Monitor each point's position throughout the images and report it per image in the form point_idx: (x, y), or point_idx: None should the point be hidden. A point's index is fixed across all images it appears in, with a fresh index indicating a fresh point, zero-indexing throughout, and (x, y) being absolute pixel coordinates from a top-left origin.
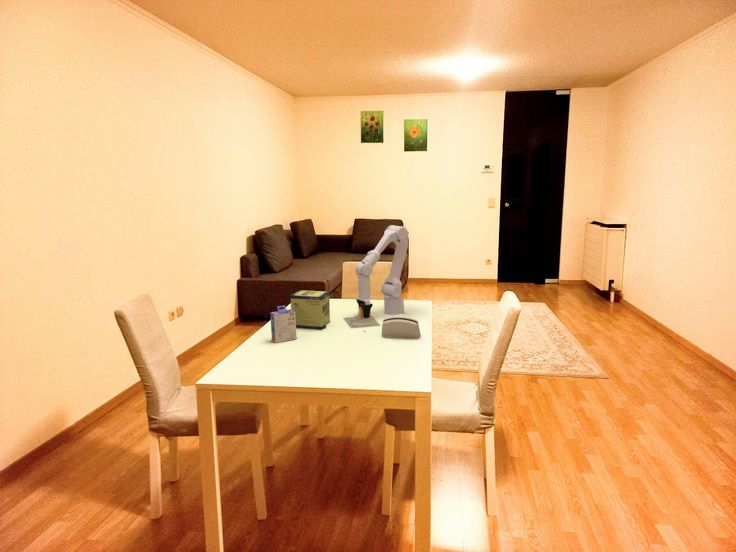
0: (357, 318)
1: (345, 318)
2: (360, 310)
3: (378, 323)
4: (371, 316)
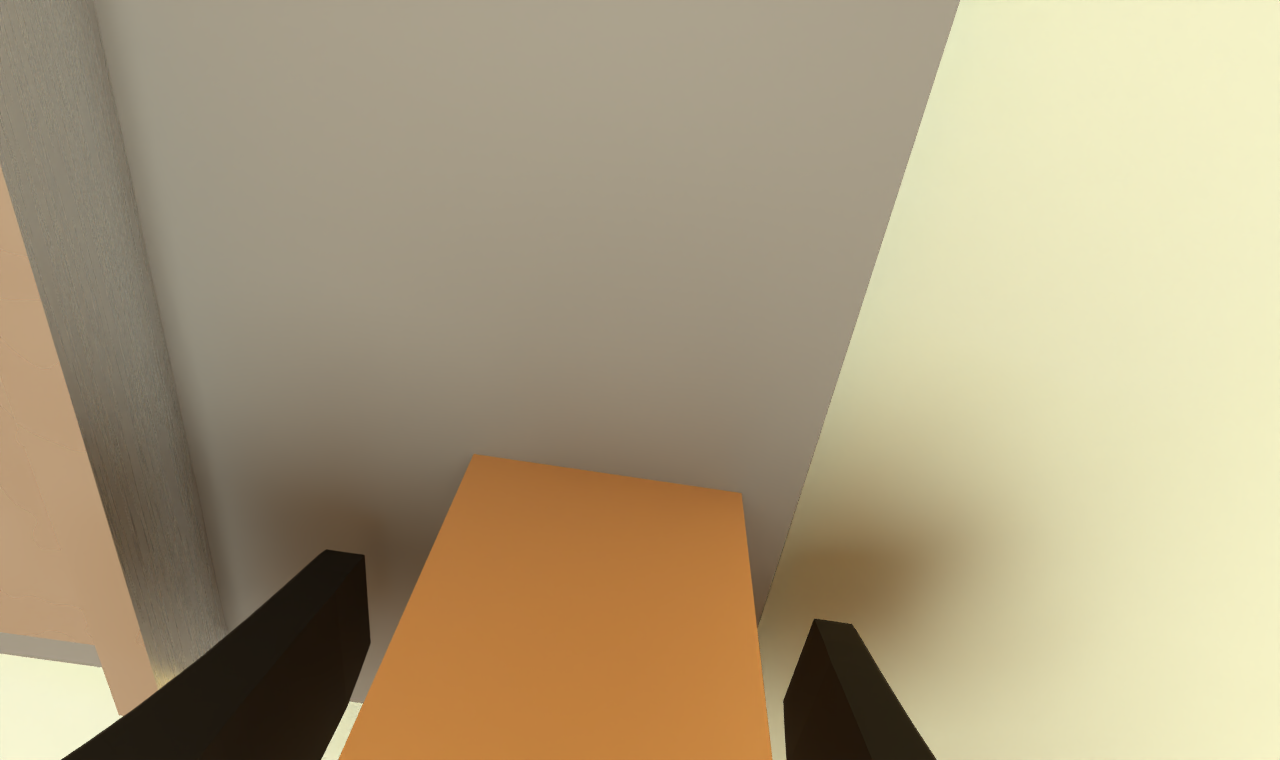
0: (600, 415)
1: (808, 20)
2: (368, 708)
3: (1, 648)
4: None
